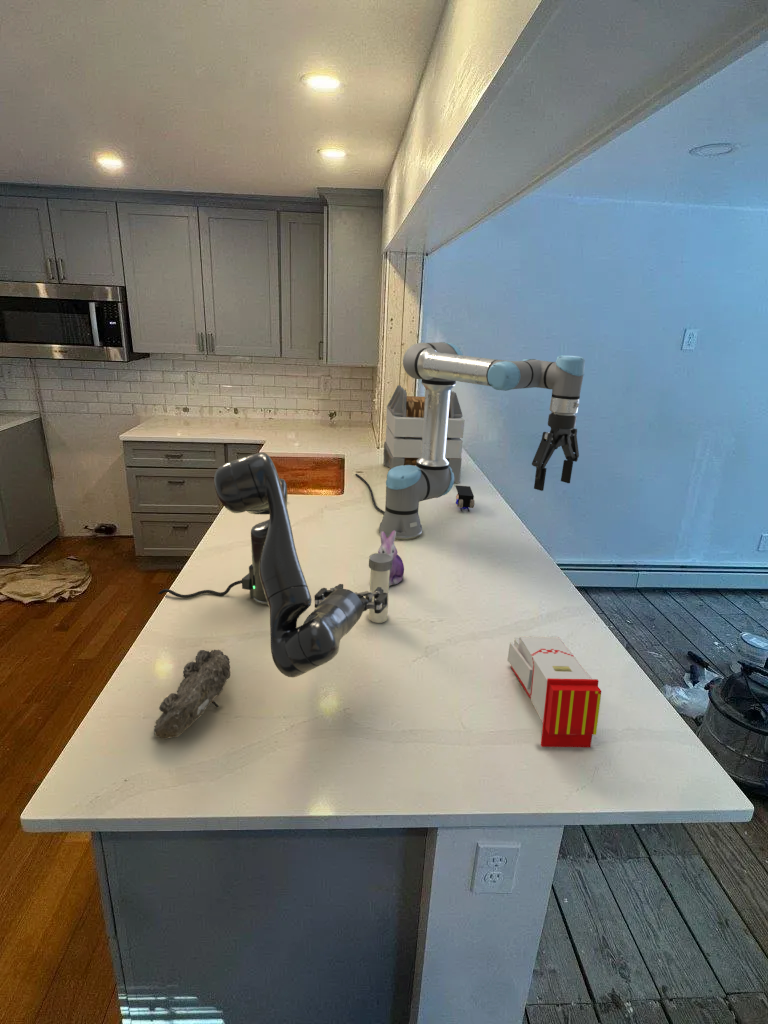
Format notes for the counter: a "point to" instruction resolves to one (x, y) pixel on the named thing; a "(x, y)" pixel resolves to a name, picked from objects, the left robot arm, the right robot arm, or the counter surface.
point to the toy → (557, 690)
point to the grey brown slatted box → (419, 431)
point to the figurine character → (464, 497)
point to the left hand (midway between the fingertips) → (360, 589)
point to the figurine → (391, 550)
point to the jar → (383, 581)
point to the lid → (380, 562)
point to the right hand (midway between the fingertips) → (552, 485)
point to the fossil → (193, 693)
